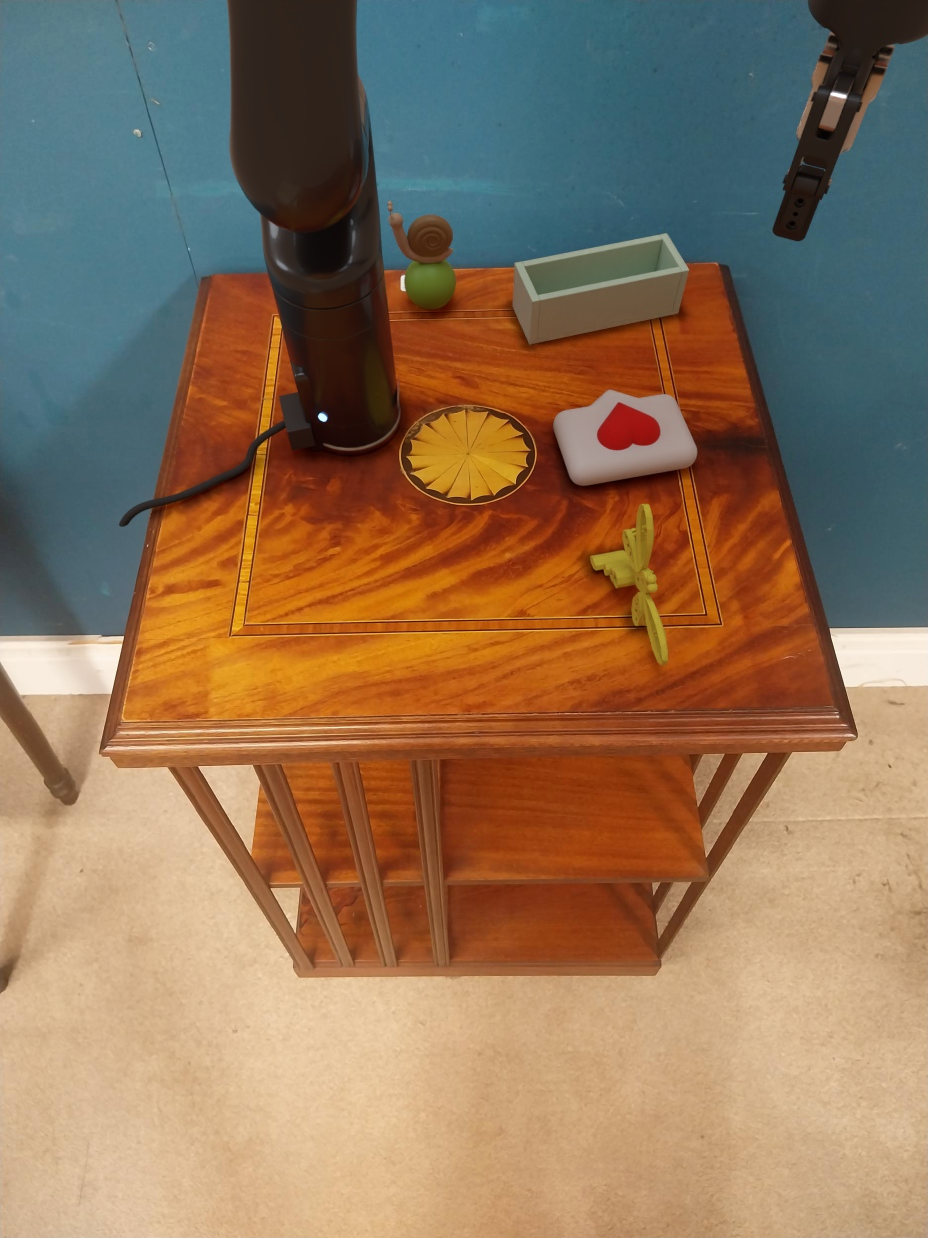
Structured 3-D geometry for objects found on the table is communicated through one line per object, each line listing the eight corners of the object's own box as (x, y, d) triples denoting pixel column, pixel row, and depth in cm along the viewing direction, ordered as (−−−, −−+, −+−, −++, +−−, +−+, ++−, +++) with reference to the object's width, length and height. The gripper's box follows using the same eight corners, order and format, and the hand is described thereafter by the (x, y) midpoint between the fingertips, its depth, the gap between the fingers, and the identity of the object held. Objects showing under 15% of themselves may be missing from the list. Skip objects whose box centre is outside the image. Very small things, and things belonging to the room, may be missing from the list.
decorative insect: (635, 636, 77) (676, 664, 67) (601, 643, 77) (637, 672, 67) (618, 494, 74) (658, 502, 64) (582, 501, 74) (617, 509, 64)
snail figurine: (395, 288, 93) (384, 186, 82) (453, 283, 93) (450, 180, 82) (398, 323, 90) (388, 221, 79) (459, 318, 90) (456, 216, 80)
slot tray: (529, 344, 88) (532, 301, 83) (512, 306, 91) (514, 262, 86) (678, 313, 90) (689, 269, 85) (657, 276, 93) (666, 232, 88)
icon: (672, 362, 81) (708, 441, 76) (663, 394, 84) (697, 471, 80) (548, 382, 80) (576, 463, 75) (544, 414, 83) (571, 494, 79)
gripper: (863, -151, 49) (774, 130, 63) (805, -39, 42) (721, 246, 56) (1000, -128, 47) (877, 155, 61) (961, -8, 41) (834, 277, 55)
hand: (802, 198), depth 59 cm, fingers open, 8 cm apart
